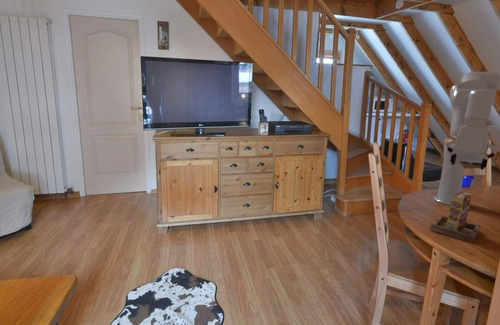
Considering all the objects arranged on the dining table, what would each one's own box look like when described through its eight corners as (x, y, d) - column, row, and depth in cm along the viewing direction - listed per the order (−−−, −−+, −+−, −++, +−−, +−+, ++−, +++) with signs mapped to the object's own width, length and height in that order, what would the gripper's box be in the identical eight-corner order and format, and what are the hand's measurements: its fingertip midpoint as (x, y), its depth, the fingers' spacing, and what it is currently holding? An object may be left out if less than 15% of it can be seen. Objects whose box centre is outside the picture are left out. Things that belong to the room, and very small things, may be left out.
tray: (439, 220, 137) (440, 215, 137) (478, 231, 128) (480, 225, 127) (430, 230, 127) (431, 224, 127) (472, 242, 118) (473, 236, 117)
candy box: (456, 234, 123) (463, 198, 120) (444, 230, 126) (451, 195, 123) (465, 229, 128) (472, 194, 125) (454, 225, 132) (460, 191, 128)
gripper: (505, 124, 114) (496, 169, 118) (451, 120, 126) (444, 161, 130) (503, 126, 109) (493, 172, 113) (447, 121, 121) (439, 164, 125)
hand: (467, 166), depth 122 cm, fingers open, 9 cm apart
